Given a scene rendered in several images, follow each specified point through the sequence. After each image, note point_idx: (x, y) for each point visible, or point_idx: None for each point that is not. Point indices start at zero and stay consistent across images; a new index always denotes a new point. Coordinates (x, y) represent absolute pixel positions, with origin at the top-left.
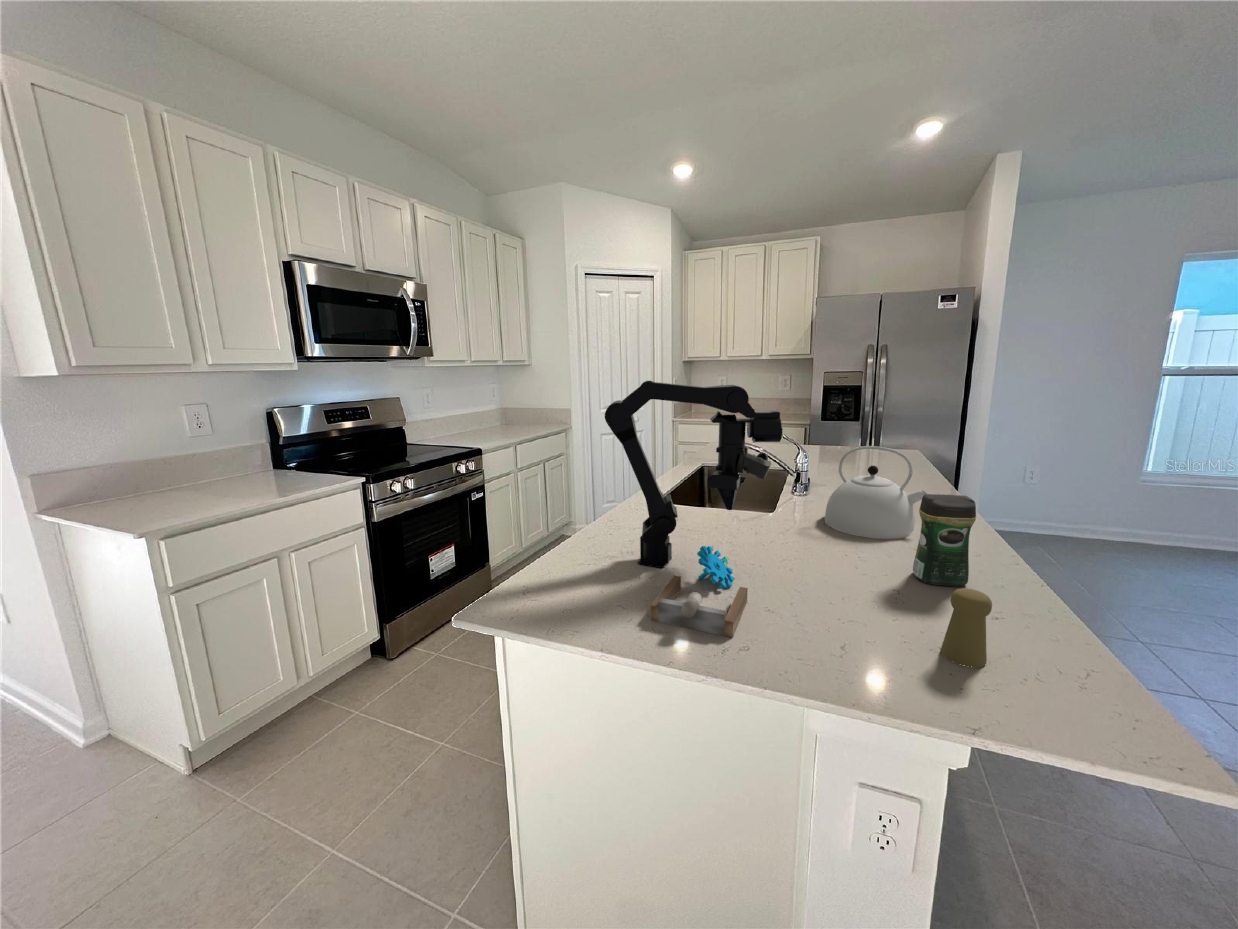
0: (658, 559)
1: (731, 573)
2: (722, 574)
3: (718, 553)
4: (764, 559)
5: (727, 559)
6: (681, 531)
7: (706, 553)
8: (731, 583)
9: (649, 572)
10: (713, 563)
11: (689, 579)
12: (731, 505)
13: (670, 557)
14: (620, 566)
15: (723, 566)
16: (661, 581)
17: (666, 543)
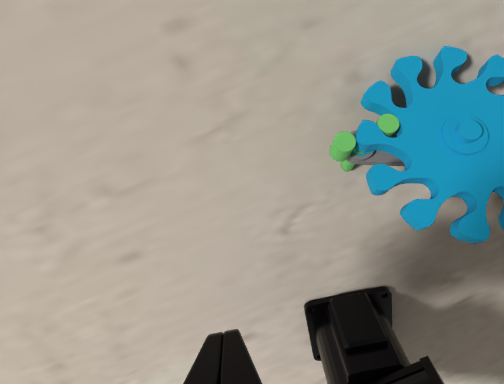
0: (383, 318)
1: (382, 84)
2: (468, 95)
3: (388, 175)
4: (93, 38)
5: (347, 134)
6: (87, 374)
7: (485, 202)
8: (443, 52)
9: (424, 298)
10: (485, 149)
11: (428, 196)
12: (252, 366)
13: (344, 303)
14: (416, 359)
15: (419, 119)
16: (470, 249)
17: (381, 352)
